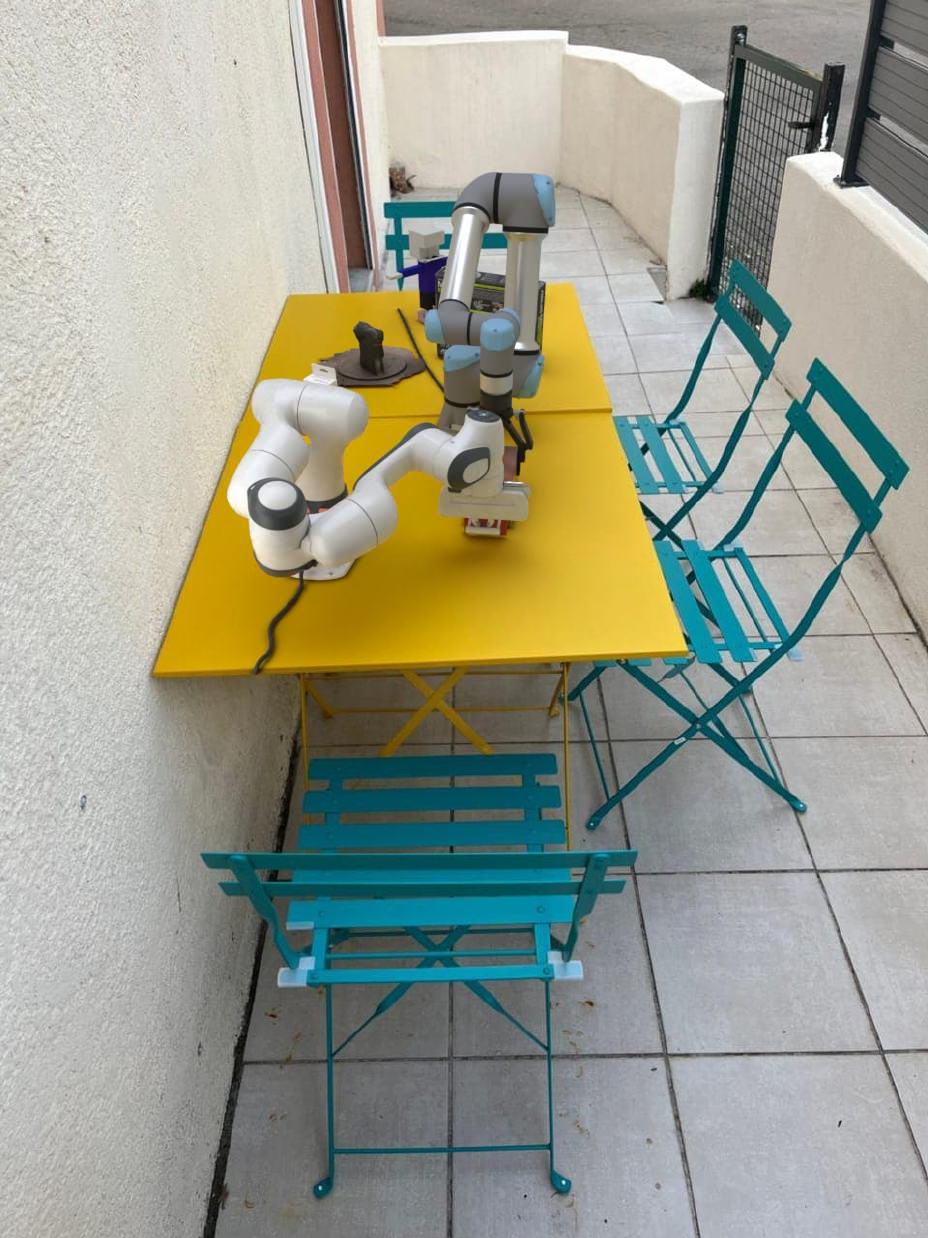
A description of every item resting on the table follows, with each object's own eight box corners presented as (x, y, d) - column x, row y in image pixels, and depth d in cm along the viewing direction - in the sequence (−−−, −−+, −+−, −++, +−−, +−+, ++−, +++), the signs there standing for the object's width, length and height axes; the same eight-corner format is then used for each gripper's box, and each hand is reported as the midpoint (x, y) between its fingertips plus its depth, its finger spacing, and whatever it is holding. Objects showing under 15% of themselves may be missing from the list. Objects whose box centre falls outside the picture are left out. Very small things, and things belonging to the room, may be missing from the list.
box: (542, 365, 279) (547, 279, 262) (535, 374, 274) (539, 287, 257) (444, 349, 289) (443, 265, 272) (435, 358, 284) (433, 273, 266)
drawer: (503, 550, 202) (504, 518, 196) (460, 547, 203) (460, 516, 197) (513, 493, 220) (514, 462, 215) (474, 490, 221) (474, 460, 216)
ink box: (306, 417, 253) (300, 368, 244) (316, 410, 257) (310, 362, 247) (331, 424, 250) (326, 375, 241) (341, 416, 254) (336, 368, 244)
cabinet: (510, 527, 211) (512, 488, 204) (464, 524, 212) (464, 485, 205) (517, 483, 226) (519, 446, 219) (474, 480, 227) (474, 443, 220)
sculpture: (406, 397, 263) (403, 345, 252) (297, 384, 270) (290, 333, 259) (437, 352, 287) (436, 303, 277) (336, 341, 294) (331, 293, 284)
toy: (460, 304, 319) (459, 216, 299) (477, 312, 313) (477, 222, 294) (381, 329, 302) (375, 237, 283) (398, 337, 296) (393, 244, 277)
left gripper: (531, 474, 194) (529, 526, 203) (439, 470, 196) (441, 521, 205) (530, 490, 189) (527, 542, 199) (435, 485, 191) (437, 537, 200)
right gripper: (547, 384, 206) (543, 466, 220) (448, 379, 209) (449, 460, 223) (545, 398, 201) (541, 482, 215) (443, 393, 203) (445, 476, 217)
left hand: (483, 531), depth 202 cm, fingers closed, pressing on drawer
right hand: (494, 471), depth 219 cm, fingers closed on cabinet, 11 cm apart
